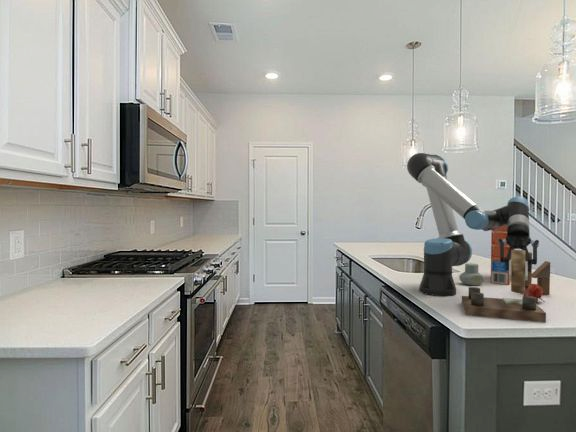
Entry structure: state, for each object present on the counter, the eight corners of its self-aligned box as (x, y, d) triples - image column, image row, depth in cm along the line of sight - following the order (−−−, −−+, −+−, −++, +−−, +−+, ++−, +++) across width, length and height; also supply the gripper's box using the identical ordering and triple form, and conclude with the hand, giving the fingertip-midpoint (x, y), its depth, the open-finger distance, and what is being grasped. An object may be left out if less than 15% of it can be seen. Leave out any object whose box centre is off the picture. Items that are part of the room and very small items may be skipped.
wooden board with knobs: (465, 315, 138) (466, 295, 138) (461, 303, 155) (462, 285, 155) (545, 322, 130) (546, 300, 130) (532, 308, 147) (532, 290, 147)
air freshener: (465, 286, 190) (466, 265, 189) (456, 283, 198) (456, 263, 198) (487, 285, 191) (487, 265, 191) (476, 282, 199) (477, 262, 199)
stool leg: (512, 292, 144) (512, 250, 144) (510, 290, 148) (510, 249, 148) (526, 293, 142) (526, 251, 142) (523, 290, 146) (523, 250, 146)
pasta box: (509, 285, 193) (510, 223, 193) (490, 283, 198) (491, 222, 197) (512, 278, 212) (513, 221, 212) (495, 276, 217) (496, 221, 216)
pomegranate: (536, 305, 163) (515, 288, 165) (550, 292, 160) (528, 276, 163) (540, 311, 156) (517, 294, 158) (554, 298, 154) (531, 281, 156)
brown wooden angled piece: (549, 294, 172) (550, 253, 172) (524, 294, 173) (524, 252, 172) (544, 293, 176) (545, 252, 175) (519, 292, 176) (520, 251, 176)
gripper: (544, 236, 154) (546, 286, 140) (493, 234, 162) (491, 281, 148) (545, 222, 149) (548, 273, 135) (492, 222, 158) (490, 269, 144)
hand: (518, 277), depth 142 cm, fingers closed on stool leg, 4 cm apart
